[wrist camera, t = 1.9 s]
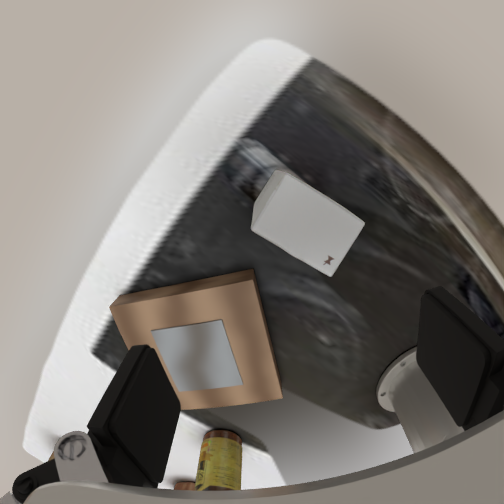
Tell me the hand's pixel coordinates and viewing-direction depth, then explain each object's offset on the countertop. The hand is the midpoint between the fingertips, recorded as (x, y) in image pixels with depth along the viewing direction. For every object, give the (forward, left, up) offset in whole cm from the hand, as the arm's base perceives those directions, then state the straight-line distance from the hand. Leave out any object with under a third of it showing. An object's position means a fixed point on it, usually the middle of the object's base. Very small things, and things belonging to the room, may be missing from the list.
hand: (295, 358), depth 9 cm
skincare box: (-2, -2, -21) cm, 22 cm away
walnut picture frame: (+11, +12, -21) cm, 27 cm away
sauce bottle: (+14, +31, -21) cm, 40 cm away
